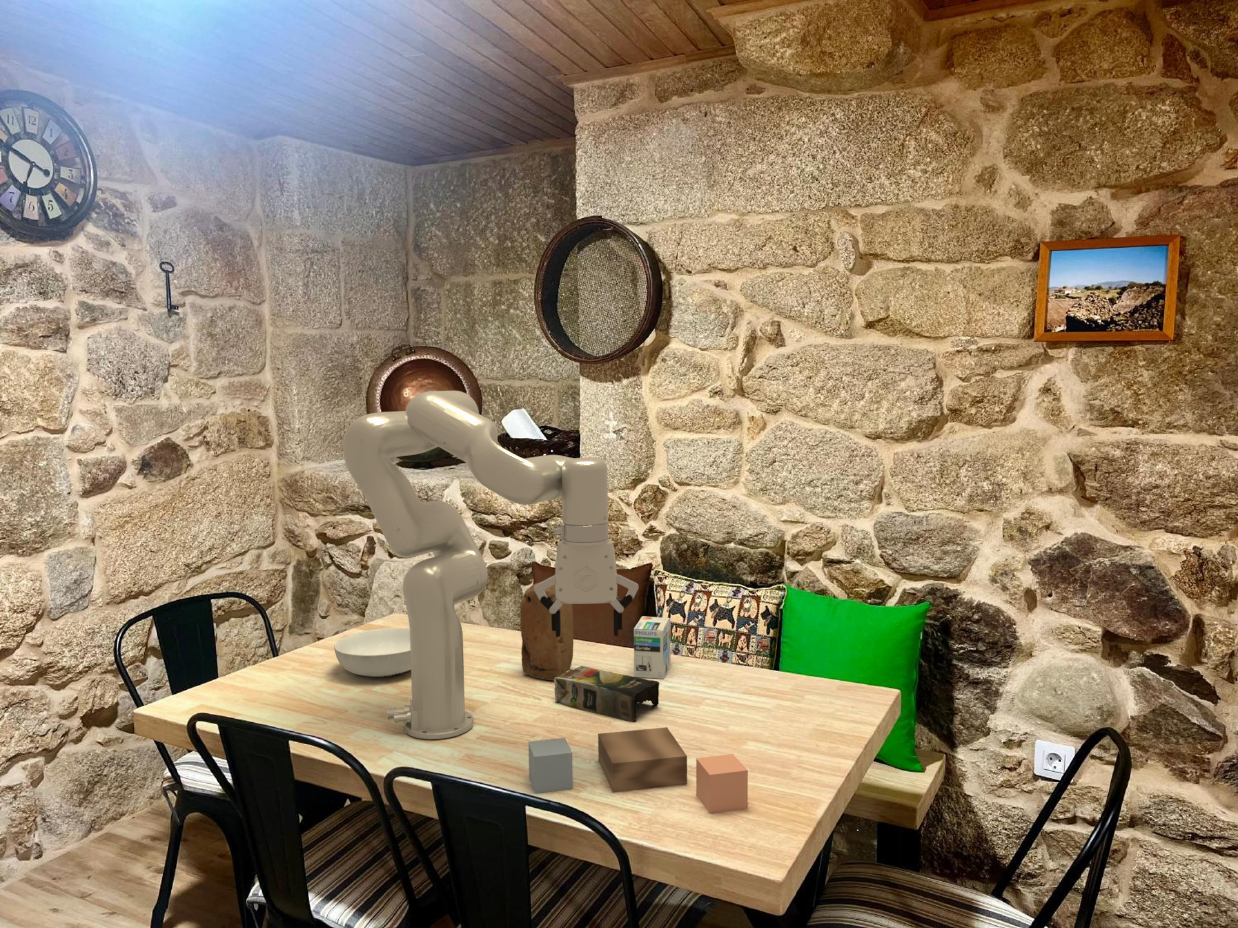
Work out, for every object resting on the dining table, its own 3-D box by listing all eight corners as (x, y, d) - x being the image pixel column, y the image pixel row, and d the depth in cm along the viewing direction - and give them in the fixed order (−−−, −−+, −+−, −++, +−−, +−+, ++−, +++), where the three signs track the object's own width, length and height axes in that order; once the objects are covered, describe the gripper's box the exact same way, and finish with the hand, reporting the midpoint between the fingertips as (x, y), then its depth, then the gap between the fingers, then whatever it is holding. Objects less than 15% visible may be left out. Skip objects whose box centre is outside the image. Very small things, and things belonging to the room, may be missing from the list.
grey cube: (534, 793, 139) (534, 756, 139) (529, 777, 145) (528, 741, 144) (572, 789, 141) (572, 752, 140) (565, 773, 146) (565, 737, 146)
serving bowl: (390, 650, 213) (389, 622, 212) (452, 666, 201) (451, 636, 200) (315, 674, 196) (314, 643, 195) (378, 693, 184) (376, 660, 183)
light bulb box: (664, 679, 191) (664, 630, 190) (633, 677, 192) (632, 628, 191) (671, 663, 201) (671, 616, 200) (641, 662, 203) (641, 615, 202)
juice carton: (548, 703, 178) (548, 673, 177) (577, 689, 186) (577, 660, 186) (633, 725, 167) (633, 693, 166) (660, 709, 175) (661, 679, 174)
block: (576, 673, 195) (575, 583, 193) (560, 684, 188) (558, 590, 186) (534, 666, 200) (532, 578, 198) (516, 677, 193) (514, 585, 191)
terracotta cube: (709, 813, 133) (709, 774, 132) (696, 795, 138) (696, 758, 138) (747, 808, 134) (747, 770, 133) (732, 790, 140) (732, 753, 139)
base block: (612, 794, 139) (612, 763, 139) (598, 762, 151) (598, 733, 151) (687, 786, 142) (687, 755, 141) (667, 755, 154) (667, 727, 153)
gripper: (531, 538, 144) (533, 642, 146) (638, 536, 144) (639, 640, 146) (534, 530, 151) (536, 629, 153) (637, 528, 152) (638, 627, 153)
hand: (587, 634), depth 149 cm, fingers open, 9 cm apart
